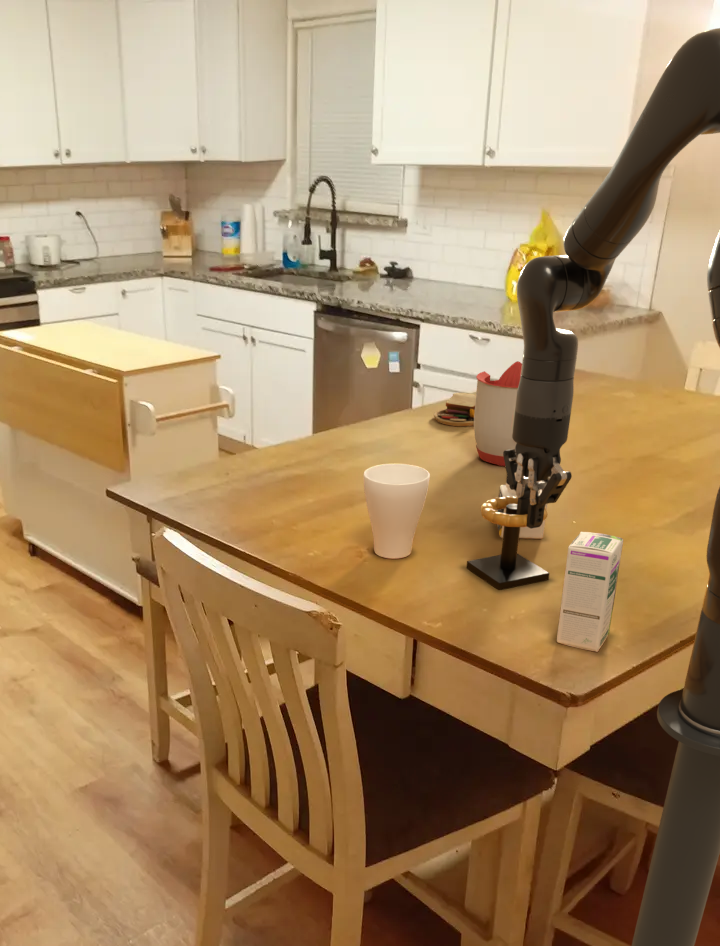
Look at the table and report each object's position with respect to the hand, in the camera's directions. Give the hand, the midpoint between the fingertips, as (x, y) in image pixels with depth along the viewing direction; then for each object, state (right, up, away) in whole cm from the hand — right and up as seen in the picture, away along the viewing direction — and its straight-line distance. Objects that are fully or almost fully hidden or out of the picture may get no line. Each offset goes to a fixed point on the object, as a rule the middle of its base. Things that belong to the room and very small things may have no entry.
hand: (528, 523), depth 141 cm
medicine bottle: (+5, +1, +23) cm, 24 cm away
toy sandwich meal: (+9, +35, +84) cm, 92 cm away
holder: (-1, -7, +8) cm, 11 cm away
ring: (-1, +2, +3) cm, 4 cm away
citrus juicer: (+13, +21, +58) cm, 63 cm away
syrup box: (+4, -17, -11) cm, 21 cm away
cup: (-17, -3, +17) cm, 25 cm away
